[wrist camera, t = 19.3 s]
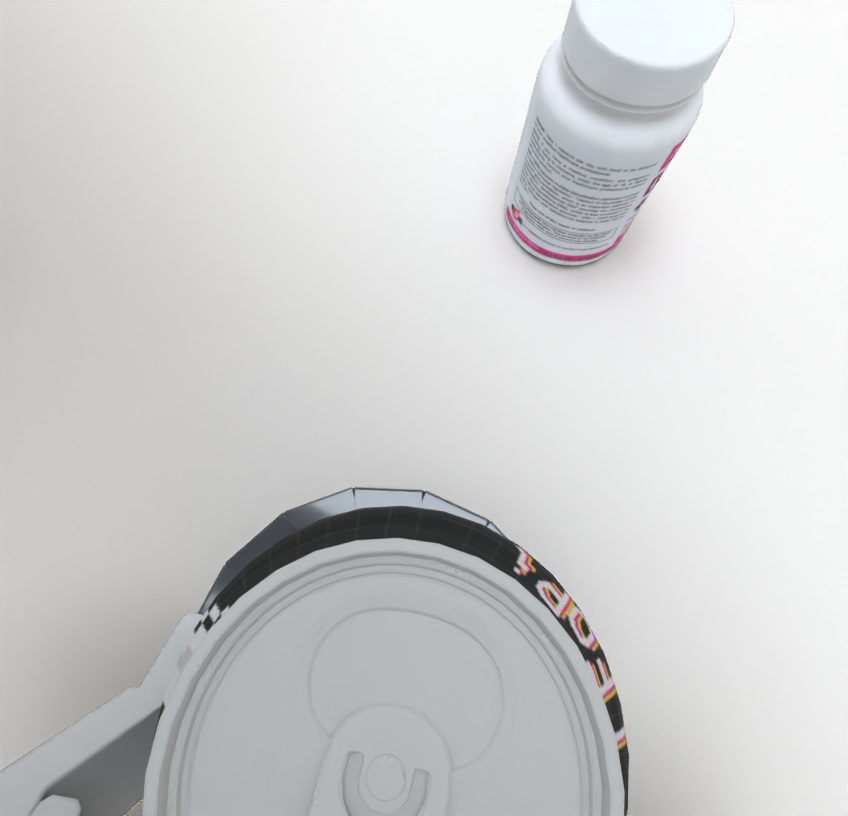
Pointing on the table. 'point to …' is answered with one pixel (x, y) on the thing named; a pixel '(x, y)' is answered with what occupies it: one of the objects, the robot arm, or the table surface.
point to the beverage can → (390, 683)
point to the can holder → (327, 508)
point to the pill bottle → (609, 120)
